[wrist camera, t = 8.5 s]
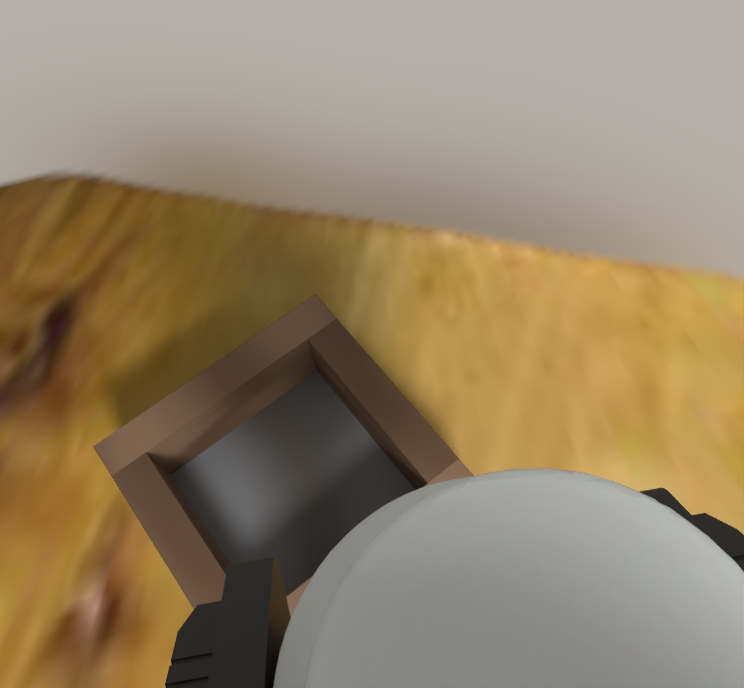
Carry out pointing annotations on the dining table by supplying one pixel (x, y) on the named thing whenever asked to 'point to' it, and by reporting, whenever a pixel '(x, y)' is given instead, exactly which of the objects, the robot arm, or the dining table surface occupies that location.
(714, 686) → the pill bottle
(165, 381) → the dining table surface
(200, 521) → the square tray
